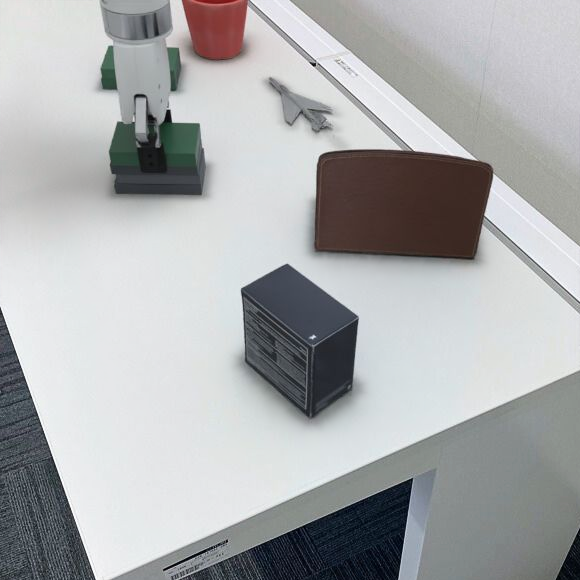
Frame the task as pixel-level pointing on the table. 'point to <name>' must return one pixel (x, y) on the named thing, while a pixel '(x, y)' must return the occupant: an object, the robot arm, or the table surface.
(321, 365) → the small box
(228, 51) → the flower pot
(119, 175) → the grey book stack
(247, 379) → the table surface
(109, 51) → the green book stack
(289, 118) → the toy airplane
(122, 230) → the table surface
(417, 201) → the letter holder
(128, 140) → the green book
